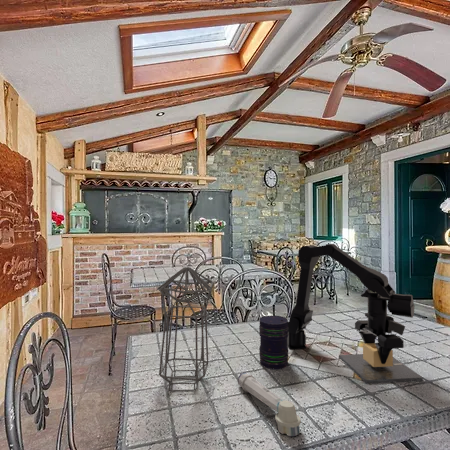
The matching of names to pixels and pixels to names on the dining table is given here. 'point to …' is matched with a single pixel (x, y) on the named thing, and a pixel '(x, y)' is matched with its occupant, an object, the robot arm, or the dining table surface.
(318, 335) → the dining table surface
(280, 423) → the toothbrush head
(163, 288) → the geometric lantern
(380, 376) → the hub plate
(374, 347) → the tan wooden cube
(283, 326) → the dark purple barrel
